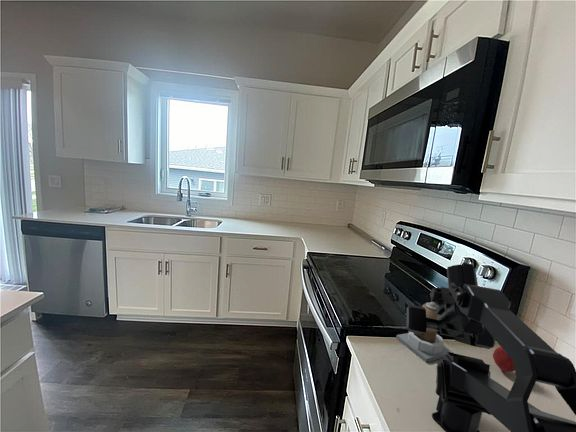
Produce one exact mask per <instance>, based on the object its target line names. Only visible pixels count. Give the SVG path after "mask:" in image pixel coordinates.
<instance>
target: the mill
mask: <svg viewBox="0 0 576 432" xmlns="http://www.w3.org/2000/svg"><path fill="white" fill-rule="evenodd" d="M421 307H425V309H426V318H431V319H436V320H437V318H438V316H439V314H437V313H436V309H437V308H438V307H439V306H438V304H436V302H432V301H430V302H425V303H423V304H422V306H421ZM427 325H428V324H427ZM432 326H433V325H432ZM434 327H435V326H434ZM437 334H438V331H437V330H432V329H428V328H427V329H426V333H425V334H424V335H421V334H417V335H416V336H417V337H418V338H419V339H421V340H422V341H426V342H429V343H435V340H436V335H437Z"/></svg>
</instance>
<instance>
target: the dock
mask: <svg viewBox="0 0 576 432" xmlns="http://www.w3.org/2000/svg"><path fill="white" fill-rule="evenodd" d="M416 335H417V334H416V333H413V332H409V331H408V332H406V333H400V334H396V337H395V339H397V341H399V342H400V343H401V344H403V345H404V346H405V347H407V348H408V349H409V350H410V351H411V352H413V353H414V354H415V355H416V356H417V357H419V359H421V360H422V361H424V362H425V363H428V362H432V361H435V360H440V359H443V355H445V354H446V355H448V354H447V352H451V353H455V352H454V351H453V350H451V349H450V348H449V347H447V346H445V345H444V341H443V340H444V339H443V337H442V335H441V336H440V334H438V333H437V335H436V340H435V343H429V342H426V341H422V340H421V339H419V338H418V337H417V336H416Z"/></svg>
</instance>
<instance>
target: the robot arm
mask: <svg viewBox="0 0 576 432" xmlns="http://www.w3.org/2000/svg"><path fill="white" fill-rule="evenodd" d="M476 271H477V270H476V268H475V267H474V264H473V263H468V262H462V264H454V265H451V266H447V268H446V275H447V285H448V287H443V286H442V287H437V286H436V287H433V288H431V290H430V291H429V292H430V293H429V297H430V302H434V303H436V305H438V306H439V307H438V308H437V309H436V313H437V314H439V316H438V318H437V320H436V319H431V318H426V309H425V307H422V306H419V305H414V304H409V305H407V307H406V330H407V331H408V333H409V332H413V333H416V334H421V335H424V334H425V333H426V329H427V328H428V329H432V330H437V332H439V336H440V335H441V336H445V337H452V338H454V341H456V342H459V343H461V344H465V345H467V346H471V347H476V348H481V349H482V348H483V349H486V350H487V349H488V350H490V349H492V348H494V347H495V346H496V344H498V345H499V347H502V349H503V350H504V351H505V352H506V353H507V355H508V356H509V357H510V358H511V359H512V361H513V362H514V368H515V371H514V372H515V380H514V382H513V384H512V387H511V388H510V390H509V389H508V388H507V387H506V386H504V385H502V384H501V383H498V382H497V381H496V380H494V379H492V377H491V373H492V372H491V371H490V368H491V364H488V363H485V362H484V360H483V359H481V358H476V357H472V356H467V355H462V354H459V353H455V352H454V353H451V352H447V354H448V355H446V354H445V355H443V358H441V359H438V362H437V365H436V378H435V379H436V380H435V384H436V387H435V394H436V396H438V400H437V404H436V408H435V410H436V412H433V413H431V417H432V419H433V420H434V421H436V423H438V425H439V426H440V427H441V428H442V429H443V430H445V431H446V432H481V430H479V429H478V428H479V426H480V422H481V417H482V414H483V413H484V414H487V415H490V416H492V417H494V418H495V419H496V420H497V421H498V422H500V424H501V425H503V426H504V427H505V428H506V429H508V431H509V432H576V421H574V420H571V419H568V418H565V417H562V416H558V415H555V414H552V413H549V412H546V411H543V410H540V409H539V408H537V407H536V406H534V405H533V404H531V403H530V402H529V398H530V396H531V393H532V392H533V389H534V387H535V385H536V383H539V384H540V383H541V384H544V385H545V384H546V385H549V386H552V387H555V389H556V391H557V392H558V394H559V395H560V397H561V398H562V399H563V401H565V403H566V405H567V406H568V407H569V408H570V410H571V411H572V413H573V414H574V415H575V416H576V368H575V365H574V363H573V362H572V361H571V360H570V358H568V357H566V356H564V355H562V354H561V353H558V352H557V351H556V350H555V349H553V347H551V345H549V344H548V343H547V342H546V341H545V340H544V339H543V338H541V337H540V336H539V335H538V334H537V333H536V332H534V330H532V329H531V328H530V327H529V326H528V325H527V324H526V323H524V321H523V320H521V319H520V317H518V316H517V315H516V314H515V313H514V312H512V310H511V309H510V307H511V301H510V300H509V298H508V297H507V296H506V295H505V293H504V292H503V291H502V290H500V289H496V288H492V287H485V286H480V285H479V284H478V277H477V272H476ZM427 324H428V325H427ZM432 325H433V326H432ZM434 326H435V327H434ZM496 342H497V343H496Z"/></svg>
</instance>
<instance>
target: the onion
mask: <svg viewBox="0 0 576 432" xmlns="http://www.w3.org/2000/svg"><path fill="white" fill-rule="evenodd" d="M492 358H493V360H494V363H495V365H496V366H497V367H498V368H499V369H500V370H501V371H502V372H506V373H507V372H510V373H511V372H515V368H514V362H513V361H512V359H511V358H510V357H509V356H508V355H507V353H506V352H505V351H504V350H503V349H502V347H501V346H499V347H496V348H495V349H494V350H493V354H492Z"/></svg>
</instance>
